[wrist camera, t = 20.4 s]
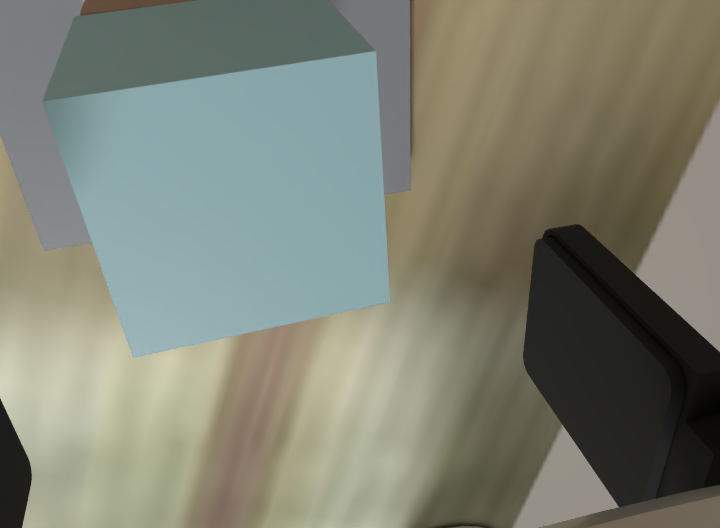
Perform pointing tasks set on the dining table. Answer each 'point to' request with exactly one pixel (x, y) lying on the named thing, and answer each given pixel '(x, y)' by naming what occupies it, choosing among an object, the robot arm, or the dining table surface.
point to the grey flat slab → (38, 60)
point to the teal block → (224, 164)
